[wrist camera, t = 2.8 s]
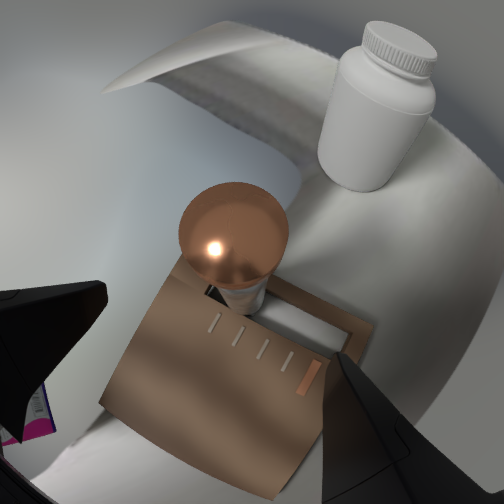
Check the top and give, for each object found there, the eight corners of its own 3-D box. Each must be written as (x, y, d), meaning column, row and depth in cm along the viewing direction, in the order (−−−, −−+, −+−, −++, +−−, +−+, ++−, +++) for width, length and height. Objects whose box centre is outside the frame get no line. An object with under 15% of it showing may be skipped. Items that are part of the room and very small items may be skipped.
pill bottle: (309, 131, 27) (335, 5, 13) (377, 136, 27) (425, 29, 13) (321, 193, 25) (372, 52, 11) (396, 196, 25) (476, 86, 11)
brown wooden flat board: (271, 495, 16) (272, 501, 15) (104, 401, 19) (97, 403, 18) (369, 326, 21) (374, 325, 20) (197, 238, 23) (194, 233, 22)
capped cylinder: (254, 330, 21) (255, 304, 8) (213, 307, 21) (158, 250, 9) (276, 289, 22) (306, 209, 9) (236, 268, 22) (215, 168, 10)
